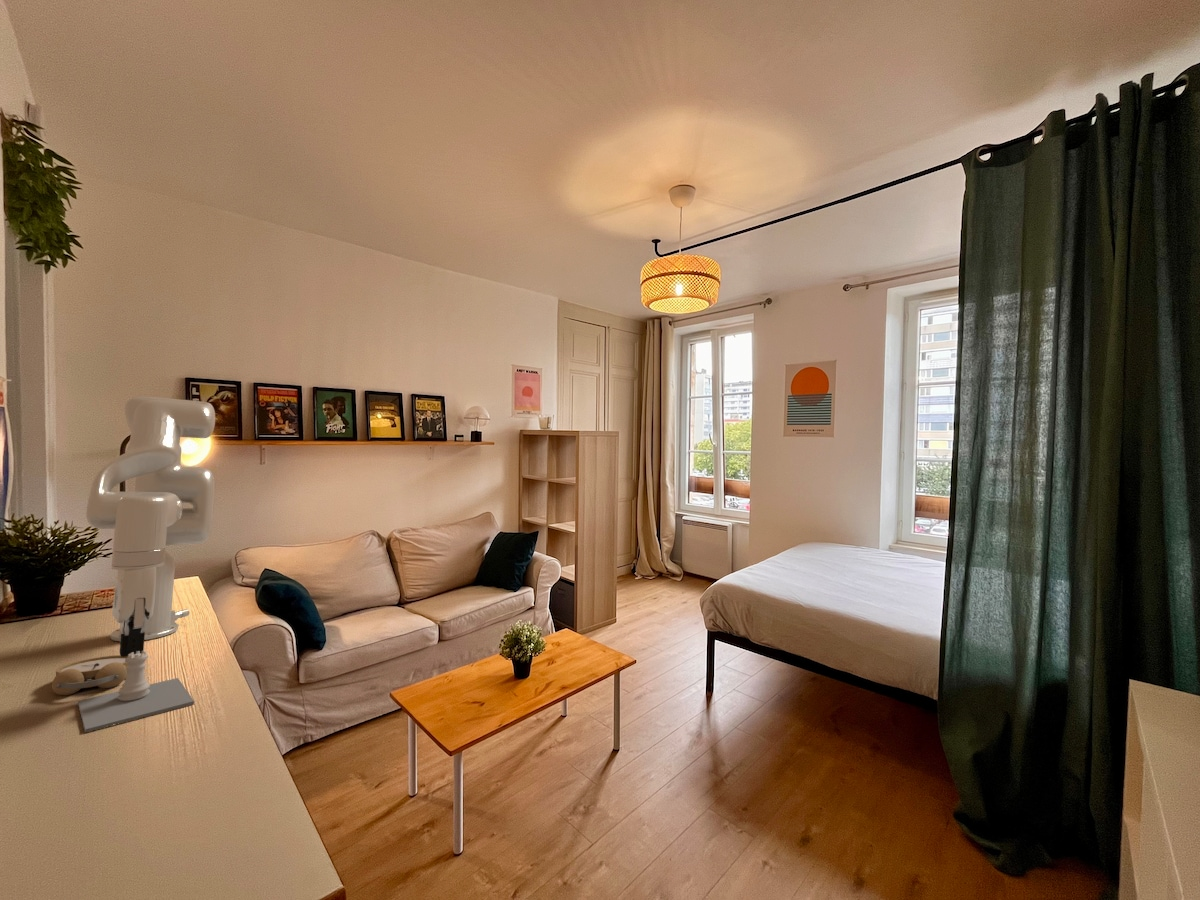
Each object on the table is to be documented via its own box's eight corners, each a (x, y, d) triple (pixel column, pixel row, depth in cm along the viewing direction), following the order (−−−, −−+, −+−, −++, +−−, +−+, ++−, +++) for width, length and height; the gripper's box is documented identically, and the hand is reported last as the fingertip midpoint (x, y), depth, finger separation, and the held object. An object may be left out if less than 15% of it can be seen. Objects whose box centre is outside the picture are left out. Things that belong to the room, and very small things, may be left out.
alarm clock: (138, 651, 108) (128, 661, 96) (136, 675, 107) (126, 688, 95) (63, 661, 101) (43, 674, 89) (60, 687, 100) (39, 703, 88)
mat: (77, 704, 90) (77, 700, 90) (177, 680, 100) (177, 677, 100) (84, 733, 81) (85, 729, 81) (193, 704, 91) (194, 701, 91)
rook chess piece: (112, 704, 89) (116, 659, 89) (122, 693, 93) (126, 650, 93) (145, 699, 91) (148, 655, 91) (153, 689, 95) (156, 647, 95)
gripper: (107, 555, 98) (99, 648, 98) (117, 567, 89) (109, 670, 88) (157, 551, 104) (150, 639, 103) (172, 562, 94) (164, 659, 94)
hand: (131, 653), depth 96 cm, fingers closed
